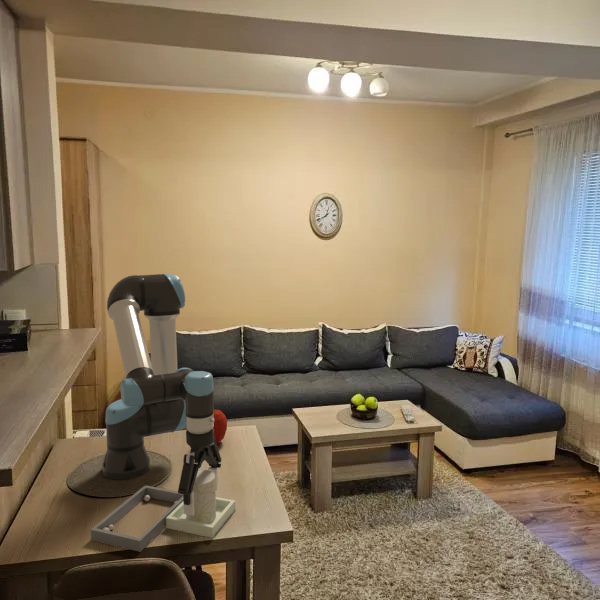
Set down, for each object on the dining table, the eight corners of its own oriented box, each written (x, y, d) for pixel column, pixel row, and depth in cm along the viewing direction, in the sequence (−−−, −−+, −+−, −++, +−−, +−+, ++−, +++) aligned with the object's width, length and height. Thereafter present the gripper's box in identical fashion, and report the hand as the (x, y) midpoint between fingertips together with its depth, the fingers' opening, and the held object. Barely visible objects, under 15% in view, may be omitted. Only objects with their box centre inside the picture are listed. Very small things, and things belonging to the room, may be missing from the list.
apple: (226, 448, 190) (226, 412, 188) (198, 449, 189) (198, 412, 187) (228, 436, 200) (227, 402, 198) (201, 437, 199) (201, 402, 197)
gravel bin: (91, 540, 135) (90, 529, 135) (145, 494, 158) (145, 485, 157) (140, 551, 131) (140, 541, 130) (189, 503, 153) (188, 493, 153)
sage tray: (166, 528, 141) (166, 517, 140) (192, 501, 154) (192, 492, 153) (212, 538, 136) (212, 527, 136) (235, 510, 150) (235, 500, 149)
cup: (189, 528, 140) (188, 486, 138) (183, 512, 147) (182, 473, 145) (219, 521, 143) (218, 480, 141) (211, 506, 150) (211, 467, 148)
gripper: (188, 449, 128) (190, 528, 132) (232, 414, 152) (233, 482, 155) (162, 445, 131) (165, 523, 134) (209, 411, 154) (210, 478, 157)
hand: (201, 501), depth 144 cm, fingers open, 13 cm apart
